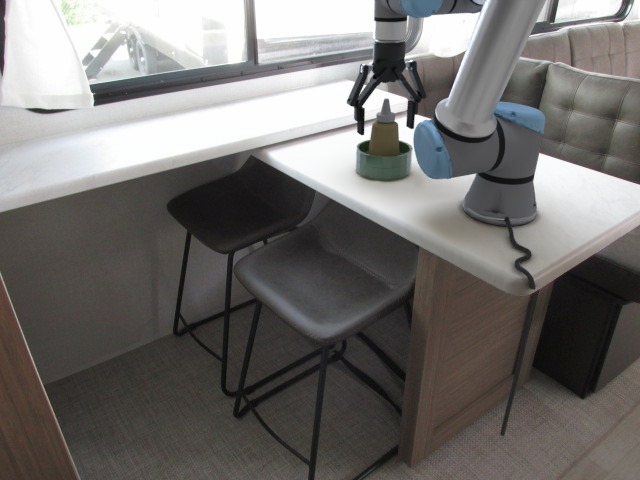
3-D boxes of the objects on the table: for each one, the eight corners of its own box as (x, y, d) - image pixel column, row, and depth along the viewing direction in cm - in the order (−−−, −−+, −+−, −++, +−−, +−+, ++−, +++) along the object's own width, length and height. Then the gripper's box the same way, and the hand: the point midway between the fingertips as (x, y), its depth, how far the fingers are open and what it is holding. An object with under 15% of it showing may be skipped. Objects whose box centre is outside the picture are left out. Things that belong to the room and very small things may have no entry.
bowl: (420, 177, 130) (422, 153, 127) (369, 185, 126) (369, 160, 123) (395, 158, 142) (396, 136, 138) (347, 165, 138) (348, 142, 135)
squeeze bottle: (400, 163, 136) (404, 95, 127) (396, 175, 129) (401, 104, 120) (370, 161, 138) (372, 94, 129) (365, 172, 131) (367, 102, 122)
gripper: (429, 35, 124) (422, 121, 135) (333, 41, 118) (333, 132, 128) (445, 39, 118) (437, 129, 128) (345, 46, 111) (344, 140, 122)
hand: (385, 130), depth 128 cm, fingers open, 13 cm apart
